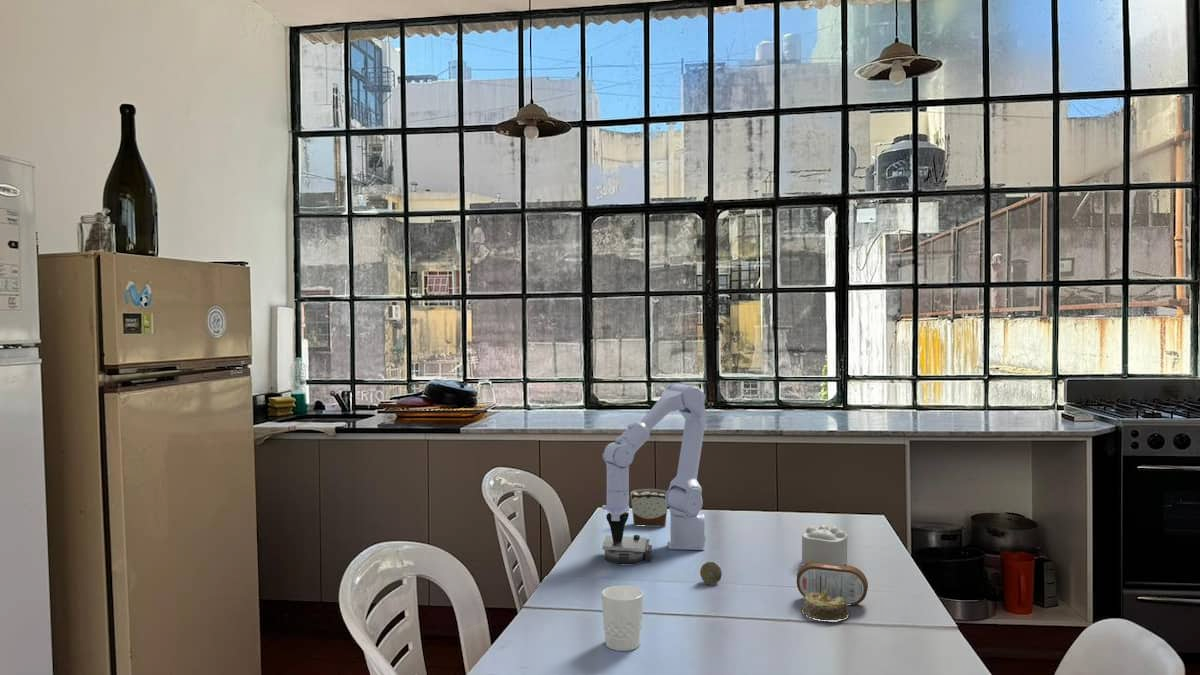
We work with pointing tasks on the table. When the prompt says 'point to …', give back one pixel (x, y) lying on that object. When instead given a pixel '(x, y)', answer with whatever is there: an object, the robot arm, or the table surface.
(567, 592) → the table surface
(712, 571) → the lime
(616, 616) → the white cup
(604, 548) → the lid
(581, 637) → the table surface
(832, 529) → the lumpy-topped squat cylinder
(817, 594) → the cake
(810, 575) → the tin
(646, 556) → the pot
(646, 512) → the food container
